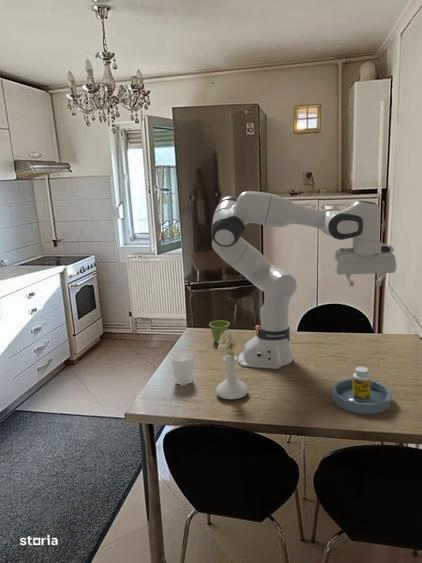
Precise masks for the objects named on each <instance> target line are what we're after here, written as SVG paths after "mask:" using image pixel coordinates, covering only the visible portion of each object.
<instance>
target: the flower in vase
mask: <svg viewBox="0 0 422 563" xmlns="http://www.w3.org/2000/svg"><path fill="white" fill-rule="evenodd" d="M232 339H233V334H232V332H231V331H230V330H229V329H228V332H227V330H226V331H224V334H223V333H222V334H221V336H220V340H219V341H218V343H217V344H218V346H217V350H219V353H225V352H226V353H227V354H228V355H225V356H223V361H224V362H225V364H226V368H227V378H226V379H225V380H223V381H221V383H219V384H218V385H217V387H216V389H215V393H216V394H217V395H218V397H220V398H222V399H225V400H236V399H237V400H238V399H241V398H244V397H245V396H246V395H247V394H248V393H249V388H248V385H246V384H245V383H244V382H243V381H241V380H240V379H238V378H236V375H235V365H236V363H237V360H238V358H239V356H236V355H235V352H233V351H234V350H233V348H232V345H231V344H232V341H233V340H232Z"/></svg>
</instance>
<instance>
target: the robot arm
mask: <svg viewBox="0 0 422 563" xmlns="http://www.w3.org/2000/svg"><path fill="white" fill-rule="evenodd" d="M380 215H381V212H380V207H379V205H378V204H377V203H376V202H373V201H367V200H360V199H359V200H356V201H355V202H354V203H352V204H351V205H349V206H348V207H346V208H343V209H342V210H341V209H339V208H332V209H328V210H317V209H313V208H308V207H304V206H300V205H298V204H296V203H294V202H293V201H292V200H290V199H288V198H285V197H283V196H281V195H277V194H273V193H269V192H263V191H252V190H251V191H250V190H249V191H243V192H242V193H240V194H239V196H238V197H236V196H233V195H228V196H225V197H222V198H221V199H220V201H218V203H217V204H216V206H215V210H214V214H213V216H212V223H211V228H210V234H211V238H212V241H211V246H212V250H213V251H215V254H217V255H218V257H220V258H221V259H222V260H223V261H224V262H225V263H227V265H229V266H230V267H232V268H233V269H234V270H235V271H237V272H238V273H239V274H241V275H242V276H243V277H244V278H245V279H247V280H248V281H249V282H251V284H253V285H254V287H256V288H258V289H259V290H260V291H262V292H264V300H263V304H262V306H261V308H260V325H259V324H256V325H255V328H254V330H255V331H256V332H255V334H256V335H254V337H252V338H251V339H250V340H248V341H247V342H246V343H245V345H244V347H243V351H242V352H240V353H239V355H238V359H237V360H238V364H239V365H240V366H241V367H245V368H260V369H261V368H262V369H275V370H278V369H281V367H283V366H287V365H289V364H291V363H292V362H293V361H294V358H293V356H292V350H291V345H290V339H291V329H290V326H289V308H290V301H291V298H292V297H293V295H295V293H296V290H297V284H298V283H297V281H296V279H295V277H294V276H293V275H292V274H290V272H288V271H286V270H283V269H281V268H279V267H277V266H275V265H273V264H272V263H271V262H270V261H269V260H268V259H267V258H266V257H265V256H264V254H262V253H261V252H260V251H259V250H258V249H257V248H255V247H254V246H253V245H252V244H250V243H249V242H248V241H246V240H245V239H244V238H243V237H241V236H242V235H243V233H245V231H246V225H248V224H259V225H261V226H266V227H273V228H284V227H287V226H290V225H302V226H306V227H311V228H316V229H319V230H321V232H323V233H324V234H326V236H330V237H331V238H333V239H335V240H340V241H343V240H347V239H351V238H352V247H347V248H346V247H345V248H339V249H337V250H336V251H335V253H334V254H335V255H334V257H335V260H336V261H335V273H336V274H337V275H339V276H341V275H344V276H345V278H346V279H347V281H348V287H354V286H355V282H354V280H351V277H352V275H368V274H370V275H371V274H372V275H373V274H378V275H379V278H378V279H376V280H375V285H376V286H377V287H379V286H382V282H383V280H384V278H385V277H386V274H394V273H395V272H396V270H397V261H396V260H397V259H396V255H395V254H394V253H393V252H394V247H393V246H392V245H390V244H387V243H385V242H381V241H380V234H379V232H380V231H379V230H380V227H381V216H380Z"/></svg>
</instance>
